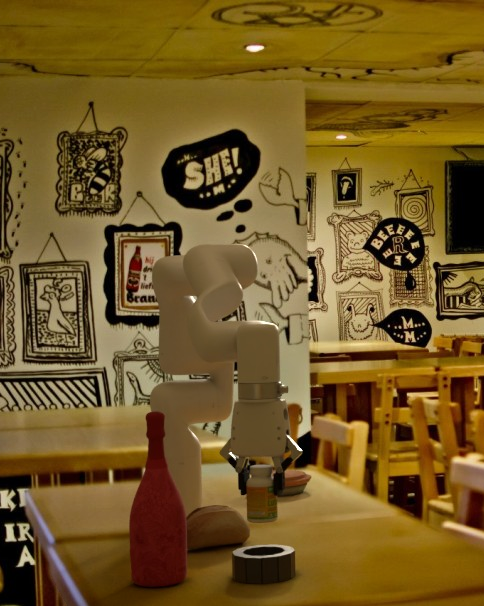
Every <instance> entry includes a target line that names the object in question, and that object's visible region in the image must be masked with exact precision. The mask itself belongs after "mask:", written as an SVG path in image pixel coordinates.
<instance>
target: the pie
mask: <svg viewBox="0 0 484 606" xmlns="http://www.w3.org/2000/svg"><path fill="white" fill-rule="evenodd" d="M274 473H275V470H273V472H272V474H271V476H272V477H273V474H274ZM311 479H312V475H310V474H308V473H306V471H302V470H295V469H287V470H285V490H283V493H282V494H280V495H279V496H278V497H283V496H285V497H286V496H293V495H298V494H301V493H303V492H304V491H305V489H306V487H307V485H308V483H309V482H310V481H311Z"/></svg>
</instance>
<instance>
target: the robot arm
mask: <svg viewBox="0 0 484 606" xmlns="http://www.w3.org/2000/svg"><path fill="white" fill-rule="evenodd" d="M258 272H259V262H258V258H257V256H256V253H255V252H254V251H253V249H252V248H251V247H249V246H248V245H247V244H243V243H204V244H203V243H202V244H197V245H195V246H193V247H191V248H190V249H189V250H187V252H186V253H185V254H181V255H180V254H179V255H168V256H167V255H166V256H163V257H161V258H158V259H157V260H155V262H154V264H153V267H152V271H151V284H152V289H153V292H154V295H155V298H156V303H157V306H158V314H159V317H158V319H159V320H158V326H159V327H158V364H159V367H160V369H161V371H162V372H163V373H164V374H167V375H170V376H194V375H195V376H196V375H209V378H197V379H195V378H194V379H192V378H191V379H173V380H167V381H163V382H160V383H158V384H156V385H155V386H154V387H152V390H151V392H150V395H149V407H150V412H153V411H160V412H163V413H164V415H165V422H164V429H165V432H166V435H165V437H164V452H165V458H166V460H167V464H168V470H169V472H170V474H171V476H172V479H173V481H174V483H175V485H176V487H177V489H178V491H179V494H180V496H181V499H182V502H183V505H184V508H185V513H186V517H187V516H188V515H189V514H190V513H191V512H192V511H193V510H195V509H197V508H200V507H204V506H203V505H204V504H203V472H202V470H203V469H202V446H201V442H200V440H199V438H198V437H197V436H196V434H195V433H194V432H193V431H192V430H191V428H190V427H189V426H190V425H197V424H198V425H199V424H210V423H211V424H212V423H219V422H223V421H226V420H227V419H229V418H230V416H231V424H230V426H231V427H230V438H229V439H228V440H227V442H226V443H225V444H224V445H223V446H222V447H221V449H219V455H220V456H221V457H222V458H223V459H224V460H225V461H227V463H228V464H229V465H230V466H231V467H232V468H233V469H234V471H235V473H237V487H238V490H239V491H240V496H247V494H246V482H247V480H248V479H249V478H251V477H250V476H251V475H250V469H249V470H248V465H249V461H250V458H271V460H272V463H273V466H274V469H275V470H274V471H275V473H274V474H273V486H274V495H275V496H277V497H280V496H279V495H280V494H282V493H283V490H285V470H288V469H289V468H290V466H292V464H293V463H294V462H295V461H296V460H297V459H299V458H300V456H302V455H303V450H302V448H300V447H299V445H298V444H297V443H296V442H295V441H294V440H293V438H292V430H291V421H290V414H289V408H288V404H287V400H286V399H285V398H282V396H283V395H284V394H289V386H288V385H285V384H283V381H281V356H280V355H281V352H280V351H281V349H280V346H281V345H280V329H279V327H278V325H276V323H273V322H266V321H263V320H226V321H225V320H222V319H224V318H226V317H228V316H230V315H231V314H233V313H234V312H236V310H238V309H239V307H240V306H241V304H242V302H243V298H244V290H246V289H247V288H249V287H250V286H252V285H253V284H254V283H255V282H256V279H257V276H258ZM195 297H196V299H195ZM219 320H221V321H219ZM235 363H236V365H237V366H236V369H237V399H236V400H234V385H235V384H234V383H235V381H234V380H235ZM231 414H232V415H231ZM289 452H291V453H290V454H289V455H288V456H287V457H286V458H285V457H284V455H285V454H288V453H289Z"/></svg>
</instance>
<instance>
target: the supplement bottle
mask: <svg viewBox="0 0 484 606" xmlns="http://www.w3.org/2000/svg"><path fill="white" fill-rule="evenodd" d="M273 471H274V470H273V464H254V465H250V466H249V472H250V476H251V477H250V478H249V479H248V480H247V482H246V519H247V520H246V521H247V522H249V523H252V524H267V523H273V522H276V521H277V520H278V516H279V514H278V512H279V511H278V496H275V495H274V486H273V477H272V476H271V474H272V472H273Z"/></svg>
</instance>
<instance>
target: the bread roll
mask: <svg viewBox="0 0 484 606" xmlns="http://www.w3.org/2000/svg"><path fill="white" fill-rule="evenodd" d="M186 522H187V550H197V549H203V548H211V547H219V546H220V547H221V546H227V545H228V546H229V545H235V544H236V545H237V544H243V543H246V542H247V541H248V539H249V538H250V536H251V528H250V525H249V523H248V521H247V520H246V519H245V517H244V516H243V514H242V513H241V512H240V511H238V510H236V509H234V508H233V507H230V506H228V505H222V504H221V505H220V504H213V505H207V506H206V505H205V506H203V507H200V508H197V509H195V510H193V511H192V512H191V513H190V514H189V515H188V516H187V517H186Z"/></svg>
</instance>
